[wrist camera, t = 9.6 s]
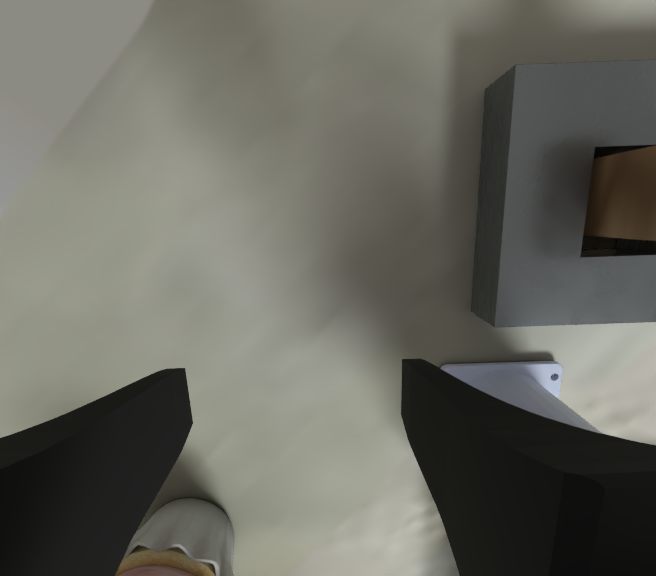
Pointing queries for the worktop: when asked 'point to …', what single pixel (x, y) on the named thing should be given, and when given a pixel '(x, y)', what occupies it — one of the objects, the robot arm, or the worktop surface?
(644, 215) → the tall cardboard box
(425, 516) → the worktop surface
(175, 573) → the cupcake
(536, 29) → the worktop surface
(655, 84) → the flat gray square plate
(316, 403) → the worktop surface
